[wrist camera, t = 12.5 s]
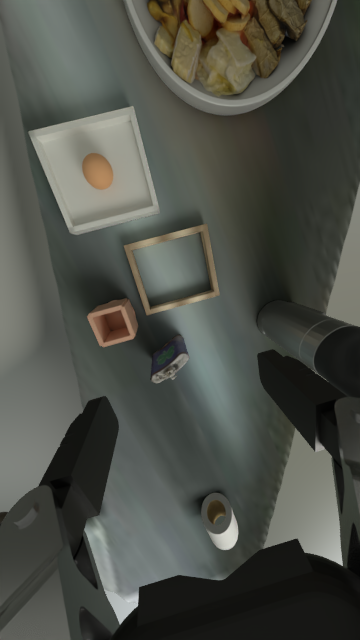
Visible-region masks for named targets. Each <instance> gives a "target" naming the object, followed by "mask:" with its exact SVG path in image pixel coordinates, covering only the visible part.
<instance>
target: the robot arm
mask: <svg viewBox="0 0 360 640" xmlns="http://www.w3.org/2000/svg"><path fill="white" fill-rule="evenodd" d="M257 325H258V328H259V330H260V331H261V332H262V333H263V334H264V335H266V336H267V337H268V338H270V339H271V340H272V341H274V342H275V343H276V344H278V345H279V346H281V347H282V348H283V349H285V350H286V351H287V352H289V353H290V354H292V355H293V356H294V357H296V358H297V359H298V360H296V359H294V358H291V357H289V356H285V357H283V356H282V355H280V354H279V353H278V352H276V351H275V350H273V349H272V350H268V351H265V352H261V353H258V355H257V357H258V366H259V375H260V380H261V383H262V385H263V387H264V389H265V390H266V392H267V393H268V394H269V395H270V396H271V398H272V399H273V400H274V401H275V403H276V404H277V405H278V406H279V408H280V409H281V410H282V411H283V413H284V414H285V415H286V416H287V418H288V419H289V420H290V421H291V422H292V424H293V425H294V426H295V427H296V429H297V430H298V431H299V432H300V434H301V435H302V436H303V437H304V438H305V440H306V441H307V442H308V443H309V445H310V446H311V447H312V448H313V450H314V451H315V452H317V451H320V450H323V449H326V450H327V451H328V452H329V453H330V454H331V456H332V467H333V475H334V482H335V490H336V497H337V504H338V512H339V521H340V538H341V551H342V561H343V566H341V565H339V564H338V563H336V562H334V561H331V560H329V559H327V558H324V557H321V556H318V555H314V554H310V553H304V551H303V549H302V547H301V545H300V543H299V541H298V539H294V540H291V541H287V542H284V543H281V544H278V545H275V546H271V547H268V548H265V549H262V550H259V551H258V552H257V553H255V554H254V555H253V556H252V557H251V558H249V559H248V560H247V561H246V562H245V563H244V564H242V565H241V566H240V567H239V568H238V569H237V570H235V571H234V572H233V573H232V574H231V575H229V576H228V577H227V578H226V579H224V580H211V579H204V578H196V577H189V576H182V575H177V576H174V577H171V578H168V579H164V580H161V581H158V582H155V583H151V584H148V585H145V586H142V587H139V600H138V607H136V608H135V609H134V610H133V611H132V612H131V613H130V614H129V615H128V616H127V617H126V619H125V620H124V621H123V622H122V623H121V625H120V624H119V622H118V619H117V617H116V614H115V612H114V610H113V608H112V606H111V604H110V602H109V601H108V599H107V596H106V594H105V591H104V588H103V585H102V582H101V579H100V576H99V573H98V570H97V566H96V563H95V560H94V557H93V554H92V551H91V547H90V544H89V541H88V538H87V535H86V533H85V531H84V528H85V524H86V520H87V518H91V517H94V516H98V515H99V513H100V509H101V505H102V500H103V496H104V492H105V487H106V483H107V479H108V474H109V470H110V465H111V461H112V457H113V452H114V448H115V444H116V439H117V435H118V430H119V425H118V419H117V417H116V415H115V413H114V411H113V409H112V406H111V404H110V402H109V400H108V398H107V397H106V396H103V397H100V398H96V399H93V400H89V401H88V403H87V405H86V407H85V409H84V411H83V413H82V414H79V416H78V417H77V418H76V419H75V420H74V421H73V423H71V425H70V427H69V429H68V430H67V433H66V434H65V437H64V438H63V440H62V442H61V444H60V447H59V448H58V449H57V451H56V453H55V455H54V457H53V459H52V461H51V463H50V465H49V467H48V469H47V471H46V473H45V474H44V476H43V478H42V480H41V482H40V484H39V486H38V487H36V488H34V489H33V490H31V491H29V492H28V493H27V494H25V495H24V496H23V497H22V498H21V499H20V500H19V501H18V502H17V503H16V504H15V505H14V506H13V507H12V508H11V510H10V511H9V512H8V514H7V515H6V517H5V518H4V520H3V522H2V523H1V524H0V640H360V327H358V326H355V325H352V324H349V323H346V322H343V321H340V320H337V319H334V318H331V317H328V316H326V314H325V313H324V312H321V311H318V310H315V309H312V308H309V307H306V306H303V305H300V304H297V303H294V302H290V303H289V302H286V301H282V300H276V301H272V302H270V303H268V304H267V305H265V306H264V307H263V308H262V310H261V311H260V313H259V315H258V319H257ZM299 360H300V361H301V362H300V361H299ZM302 362H303V363H304V364H305V365H304V364H303V363H302ZM306 365H307V366H308V367H310V368H311V369H312V370H314V371H315V372H316V373H318V374H319V375H321V376H322V377H323V378H325V379H326V380H327V381H328V382H327V381H326V380H325V379H323V378H322V377H321V376H319V375H318V374H315V372H314V371H312V370H311V369H310V368H308V367H307V366H306Z"/></svg>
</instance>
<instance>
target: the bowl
mask: <svg viewBox="0 0 360 640" xmlns="http://www.w3.org/2000/svg"><path fill="white" fill-rule="evenodd" d="M123 1H124V5H125V8H126V11H127V14H128V17H129V20H130V23H131V25H132V28H133V31H134V33H135V35H136V38H137V40H138V42H139V44H140V46H141V48H142V50H143V52H144V54H145V56H146V58H147V59H148V61H149V63H150V64H151V66H152V67H153V69H154V70H155V72H156V73H157V75H158V76H159V77H160V78H161V80H162V81H163V82H164V83H165V84H166V86H167V87H168V88H169V89H170V90H171V91H172V92H173V93H174V94H176V95H177V96H178V97H179V98H180V99H182V100H183V101H184V102H186V103H187V104H189V105H191V106H193V107H194V108H196V109H199V110H201V111H204V112H207V113H210V114H215V115H237V114H242V113H246V112H249V111H252V110H254V109H256V108H258V107H260V106H262V105H264V104H266V103H267V102H269V101H270V100H272V99H273V98H274V97H276V96H277V95H278V94H279V93H280V92H282V91H283V90H284V89H285V88H286V87H287V86H288V85H289V84H290V83H291V82H292V81H293V79H294V78H295V77H296V76H297V75H298V73H299V72H300V71H301V70H302V68H303V67H304V66H305V65H306V63H307V62H308V60H309V59H310V58H311V56H312V54H313V53H314V51H315V50H316V48H317V46H318V44H319V43H320V41H321V39H322V37H323V35H324V33H325V31H326V29H327V26H328V24H329V22H330V19H331V17H332V14H333V11H334V8H335V6H336V2H337V0H123Z"/></svg>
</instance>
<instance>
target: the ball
mask: <svg viewBox="0 0 360 640" xmlns="http://www.w3.org/2000/svg"><path fill="white" fill-rule="evenodd" d="M82 171H83V174H84V177H85V179H86V180H87V182H88V183H89V184H90V185H91V186H93V187H94V188H96V189H100V190H103V189H107V188H108V187H109V186H110V185H111V184H112V181H113V170H112V167H111V165H110V163H109V162H108V160H107V159H106V158H105V157H103V156H102V155H100V154H97V153H90V154H88V155H87V156H86V157H85V158H84V160H83V162H82Z"/></svg>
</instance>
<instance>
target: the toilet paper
mask: <svg viewBox="0 0 360 640" xmlns="http://www.w3.org/2000/svg"><path fill="white" fill-rule="evenodd" d="M221 515H223V516H225V519H224V521H223V523H222V524H220V525H214V524H215V521H216V519H217V518H218V517H219V516H221ZM201 516H202V521H203V523H204V525H205V527H206V529H207V531H208V533H209V535H210V537H211V539H212V541H213V543H214V544H215V545H216V546H217V547H218V548H220V549H222V550H228V549H230V548H232V547H233V546H234V545H235V543H236V541H237V538H238V525H237V521H236V519H235V516H234V514H233V511H232V508H231V506H230V503H229V501H228V500H227V498H226V497H225V496H223V495H222V494H220V493H212V494H209V495H208V496H207V497H206V498H205V500H204V501H203V504H202V508H201Z"/></svg>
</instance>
